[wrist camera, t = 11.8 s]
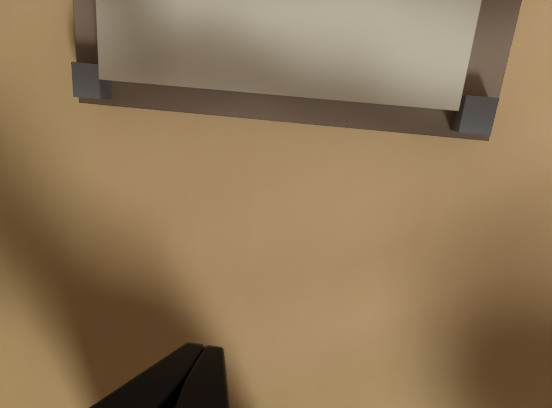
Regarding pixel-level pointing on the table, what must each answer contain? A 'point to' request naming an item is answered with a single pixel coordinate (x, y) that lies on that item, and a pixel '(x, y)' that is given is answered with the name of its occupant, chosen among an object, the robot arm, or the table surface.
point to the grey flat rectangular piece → (294, 47)
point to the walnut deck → (425, 121)
